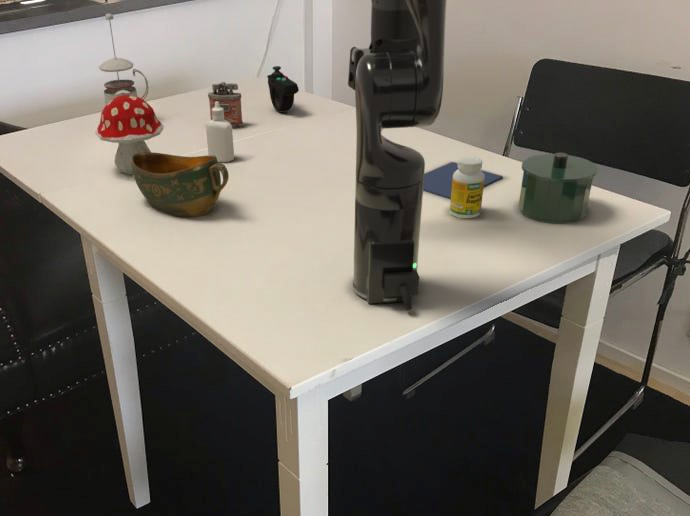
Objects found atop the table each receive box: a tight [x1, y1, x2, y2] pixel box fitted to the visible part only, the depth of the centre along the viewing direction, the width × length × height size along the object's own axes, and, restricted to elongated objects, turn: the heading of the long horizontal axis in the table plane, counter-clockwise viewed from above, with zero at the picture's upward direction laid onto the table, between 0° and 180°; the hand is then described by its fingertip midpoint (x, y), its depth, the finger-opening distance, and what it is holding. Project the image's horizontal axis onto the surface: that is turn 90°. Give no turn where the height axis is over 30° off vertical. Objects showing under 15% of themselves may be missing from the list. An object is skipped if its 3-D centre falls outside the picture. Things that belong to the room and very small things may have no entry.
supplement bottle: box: [449, 155, 485, 219], centre depth 133 cm, size 5×5×10 cm
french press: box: [98, 13, 149, 106], centre depth 180 cm, size 10×12×25 cm
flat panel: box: [423, 161, 504, 200], centre depth 148 cm, size 12×15×1 cm
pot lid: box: [521, 152, 599, 182], centre depth 130 cm, size 12×12×3 cm
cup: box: [131, 151, 230, 218], centre depth 140 cm, size 13×20×10 cm, turn 28°
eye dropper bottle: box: [205, 102, 235, 163], centre depth 160 cm, size 4×6×12 cm
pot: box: [518, 171, 594, 224], centre depth 133 cm, size 11×11×8 cm
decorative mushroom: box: [94, 95, 165, 175], centre depth 157 cm, size 14×14×15 cm
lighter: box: [207, 81, 244, 129], centre depth 180 cm, size 8×3×10 cm, turn 73°
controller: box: [266, 65, 300, 113], centre depth 187 cm, size 4×12×10 cm, turn 22°
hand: (391, 112), depth 122 cm, fingers open, 8 cm apart
